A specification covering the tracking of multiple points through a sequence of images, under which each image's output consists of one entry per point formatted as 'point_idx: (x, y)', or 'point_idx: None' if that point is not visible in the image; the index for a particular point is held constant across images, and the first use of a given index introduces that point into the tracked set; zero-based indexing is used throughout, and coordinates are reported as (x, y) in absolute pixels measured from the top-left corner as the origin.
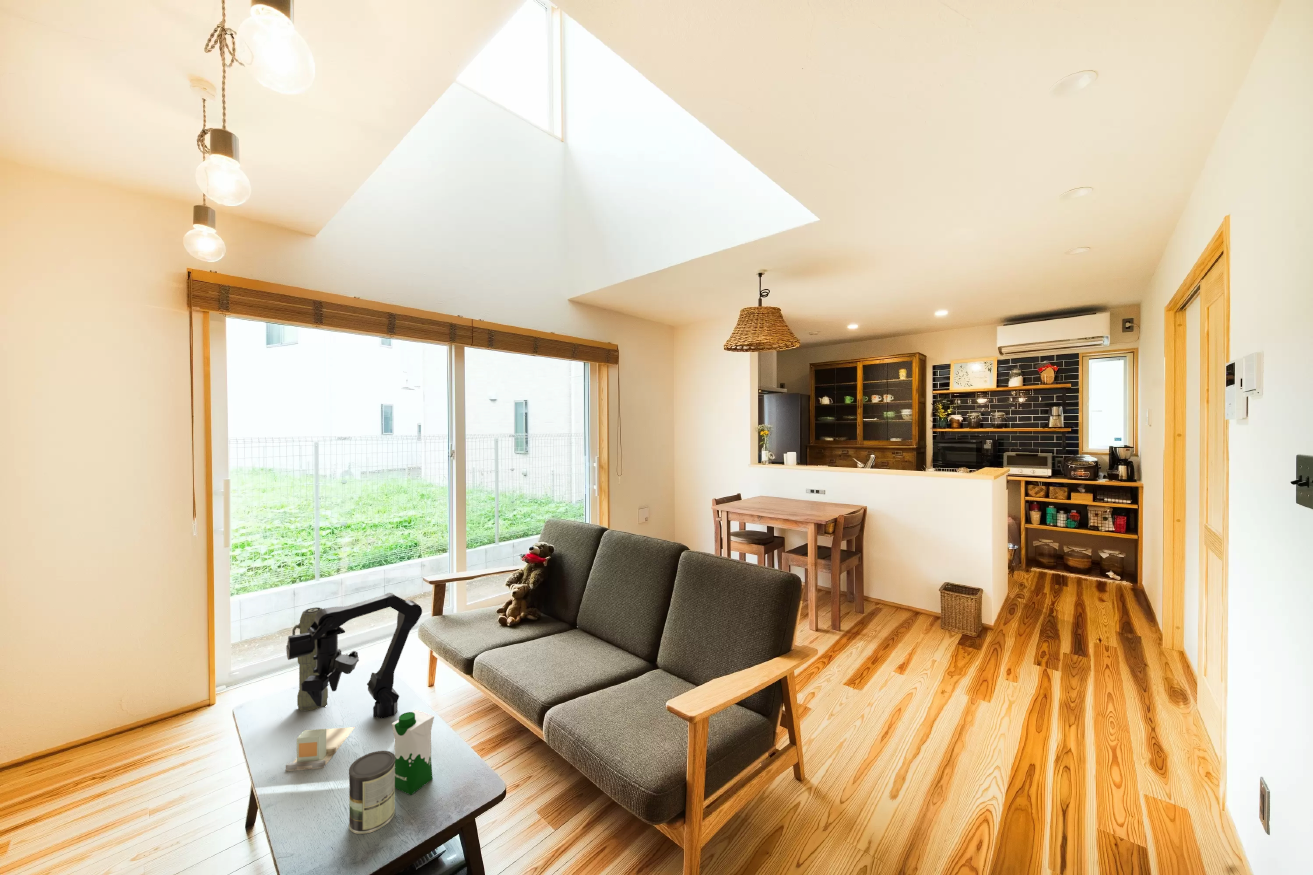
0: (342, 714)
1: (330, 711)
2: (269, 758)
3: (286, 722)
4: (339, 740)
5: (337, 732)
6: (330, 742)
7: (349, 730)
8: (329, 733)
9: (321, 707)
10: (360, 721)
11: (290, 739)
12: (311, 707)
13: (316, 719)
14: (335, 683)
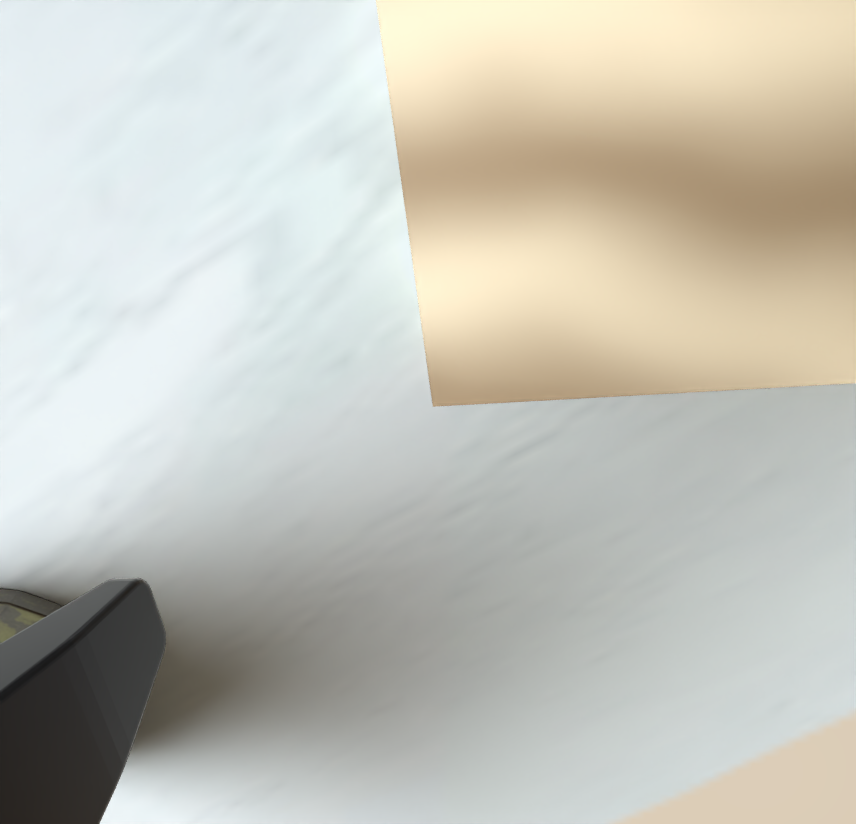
0: (62, 366)
1: (41, 512)
2: (839, 639)
3: (264, 761)
4: (727, 5)
5: (506, 167)
6: (758, 121)
7: (462, 8)
8: (526, 264)
9: (25, 617)
10: (154, 46)
11: (527, 619)
12: None
13: (189, 566)
14: (19, 744)
